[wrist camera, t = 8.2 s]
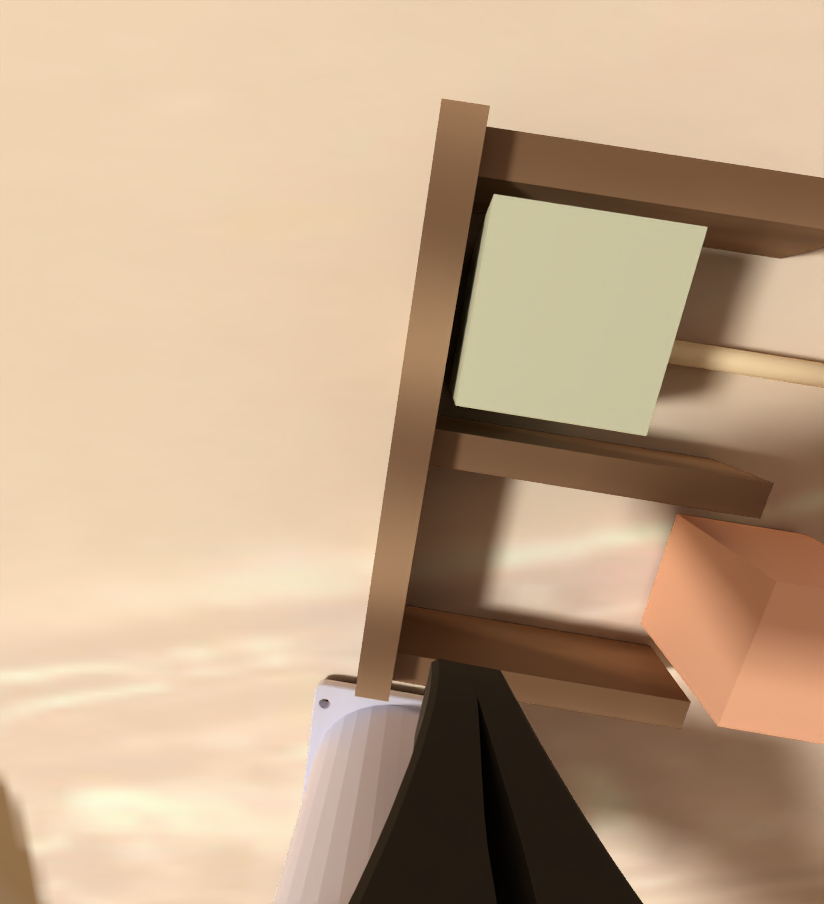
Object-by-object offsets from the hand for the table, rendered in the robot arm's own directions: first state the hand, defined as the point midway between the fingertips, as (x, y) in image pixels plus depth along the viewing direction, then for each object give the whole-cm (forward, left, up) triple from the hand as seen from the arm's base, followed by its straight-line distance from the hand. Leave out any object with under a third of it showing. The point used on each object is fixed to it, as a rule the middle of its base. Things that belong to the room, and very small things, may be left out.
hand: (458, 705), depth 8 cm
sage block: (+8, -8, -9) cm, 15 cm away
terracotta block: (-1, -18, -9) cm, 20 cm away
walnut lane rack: (+4, -4, -9) cm, 11 cm away
